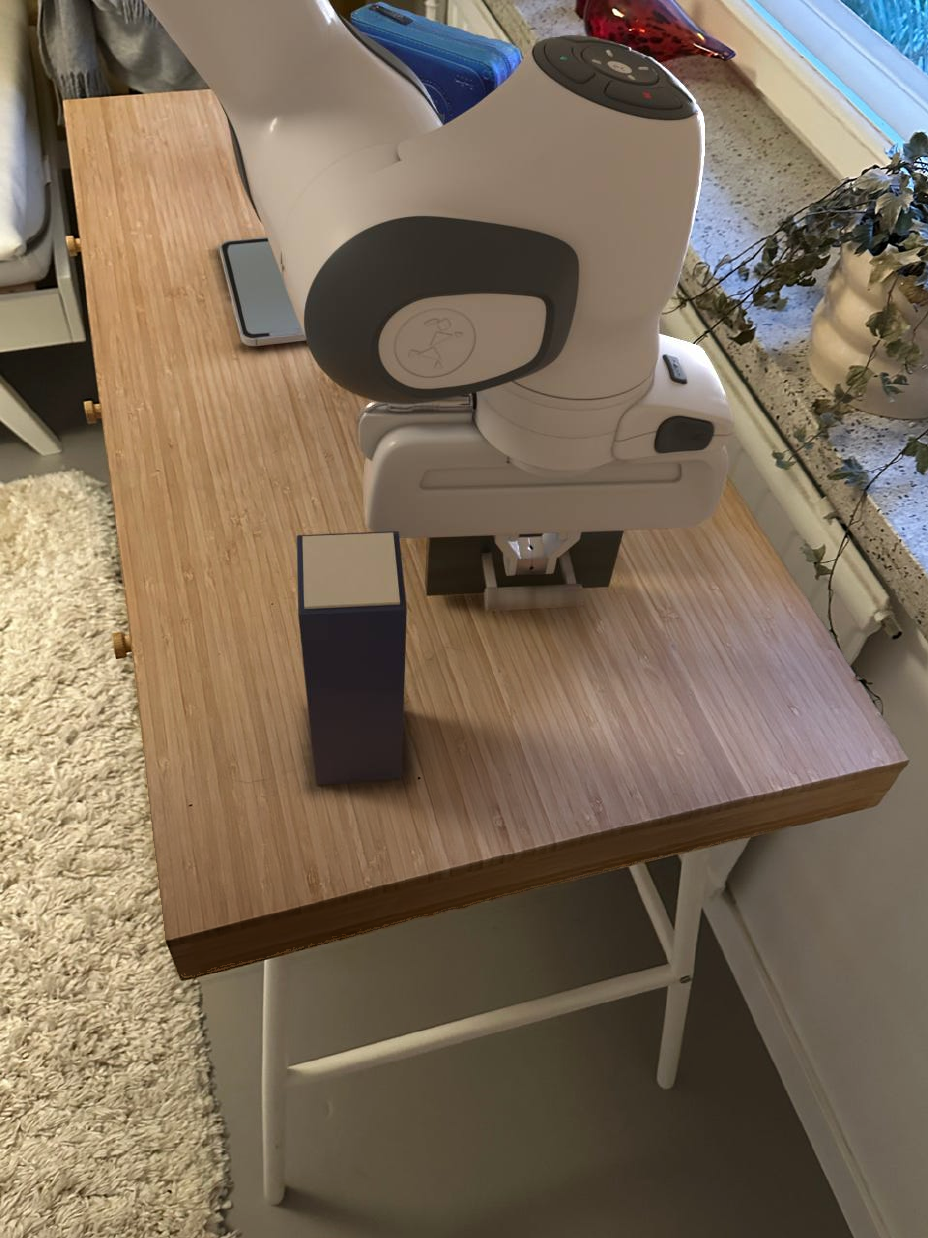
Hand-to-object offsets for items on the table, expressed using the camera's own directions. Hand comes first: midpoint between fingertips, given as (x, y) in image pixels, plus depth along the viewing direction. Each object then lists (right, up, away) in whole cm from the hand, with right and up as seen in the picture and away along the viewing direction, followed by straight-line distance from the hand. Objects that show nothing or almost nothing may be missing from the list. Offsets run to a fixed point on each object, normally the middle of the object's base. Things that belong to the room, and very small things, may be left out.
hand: (527, 566), depth 63 cm
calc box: (-10, -11, -2) cm, 15 cm away
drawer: (-1, +3, +9) cm, 9 cm away
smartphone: (-21, +25, +25) cm, 41 cm away
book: (-8, +29, +30) cm, 43 cm away
